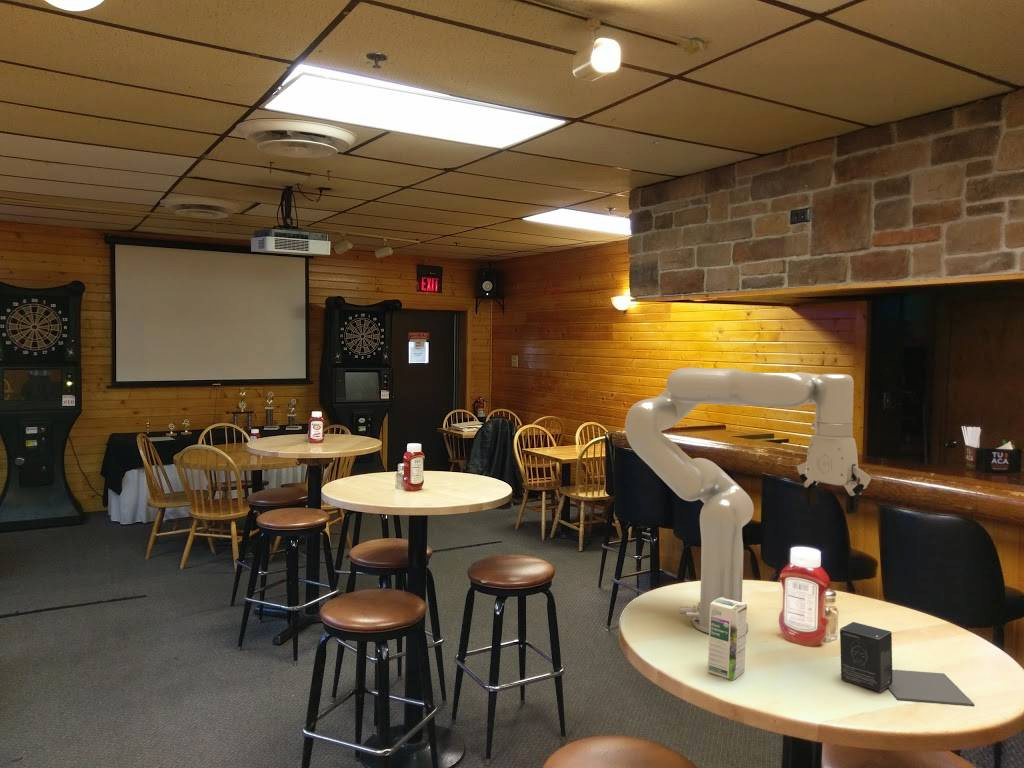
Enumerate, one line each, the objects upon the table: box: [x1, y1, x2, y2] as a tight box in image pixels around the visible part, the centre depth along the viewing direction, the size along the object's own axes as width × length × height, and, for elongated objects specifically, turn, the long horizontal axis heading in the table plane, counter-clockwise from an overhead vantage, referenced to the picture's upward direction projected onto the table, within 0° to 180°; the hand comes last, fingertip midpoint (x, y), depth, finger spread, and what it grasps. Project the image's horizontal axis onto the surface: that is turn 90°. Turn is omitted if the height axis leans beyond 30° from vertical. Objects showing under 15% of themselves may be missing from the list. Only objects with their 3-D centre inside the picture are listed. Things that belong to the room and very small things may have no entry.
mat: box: [887, 669, 975, 707], centre depth 145 cm, size 14×13×1 cm
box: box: [839, 621, 893, 692], centre depth 146 cm, size 8×6×11 cm
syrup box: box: [707, 597, 748, 681], centre depth 150 cm, size 6×6×14 cm
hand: (831, 508), depth 161 cm, fingers open, 9 cm apart
